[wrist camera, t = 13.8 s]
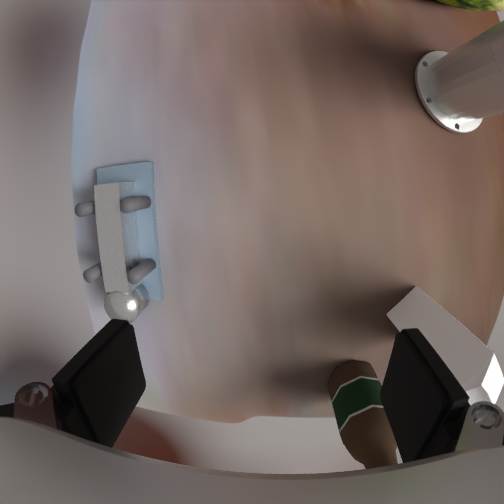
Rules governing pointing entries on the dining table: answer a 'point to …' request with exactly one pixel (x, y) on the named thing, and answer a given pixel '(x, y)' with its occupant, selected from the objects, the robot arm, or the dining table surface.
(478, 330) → the dining table surface
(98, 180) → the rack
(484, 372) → the milk
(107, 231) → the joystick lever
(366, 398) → the beer bottle
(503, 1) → the lettuce
